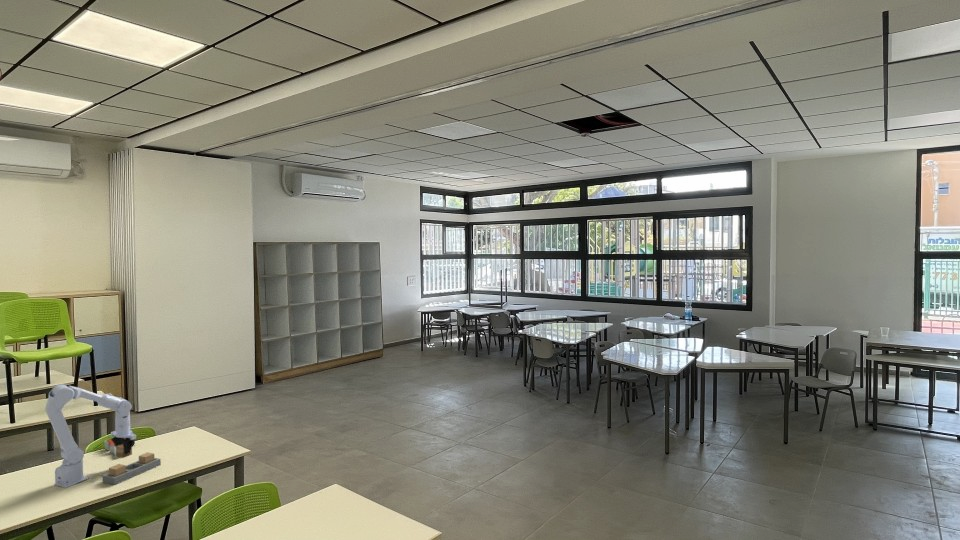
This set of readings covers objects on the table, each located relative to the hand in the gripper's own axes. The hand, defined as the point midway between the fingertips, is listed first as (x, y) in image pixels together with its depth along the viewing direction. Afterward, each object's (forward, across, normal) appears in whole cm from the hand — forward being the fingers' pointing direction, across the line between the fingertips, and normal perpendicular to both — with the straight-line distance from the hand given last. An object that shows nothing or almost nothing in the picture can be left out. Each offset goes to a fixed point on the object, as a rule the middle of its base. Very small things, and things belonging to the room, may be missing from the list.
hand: (123, 452), depth 247 cm
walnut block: (+2, 0, 0) cm, 2 cm away
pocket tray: (+7, -11, +4) cm, 14 cm away
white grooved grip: (+7, +21, -12) cm, 26 cm away
